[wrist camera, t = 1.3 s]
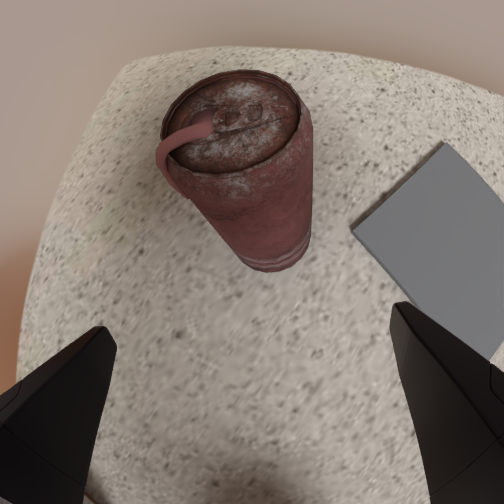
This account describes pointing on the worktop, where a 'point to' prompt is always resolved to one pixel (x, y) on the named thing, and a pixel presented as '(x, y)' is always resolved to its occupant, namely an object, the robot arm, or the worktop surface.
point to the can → (244, 163)
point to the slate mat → (445, 248)
